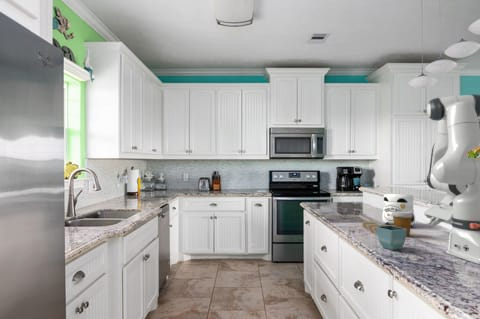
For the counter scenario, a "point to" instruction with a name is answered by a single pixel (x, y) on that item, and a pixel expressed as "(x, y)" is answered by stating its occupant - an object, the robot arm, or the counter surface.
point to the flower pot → (391, 236)
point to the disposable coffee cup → (403, 220)
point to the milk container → (397, 206)
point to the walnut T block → (372, 226)
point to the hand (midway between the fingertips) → (430, 225)
